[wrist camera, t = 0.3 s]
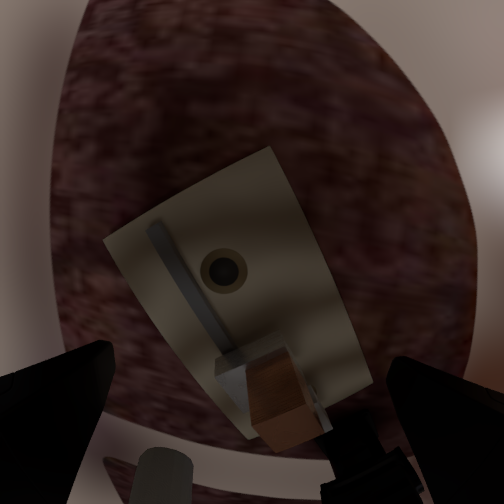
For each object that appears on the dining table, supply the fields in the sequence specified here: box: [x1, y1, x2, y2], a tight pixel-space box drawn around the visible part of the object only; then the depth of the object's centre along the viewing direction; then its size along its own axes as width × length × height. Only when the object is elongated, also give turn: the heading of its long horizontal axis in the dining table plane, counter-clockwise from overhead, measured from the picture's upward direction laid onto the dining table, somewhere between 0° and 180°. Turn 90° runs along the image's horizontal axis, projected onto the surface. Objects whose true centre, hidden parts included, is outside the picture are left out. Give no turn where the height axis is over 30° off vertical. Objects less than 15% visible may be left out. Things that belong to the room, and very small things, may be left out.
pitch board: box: [103, 146, 373, 440], centre depth 20 cm, size 22×13×5 cm, turn 27°
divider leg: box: [214, 329, 325, 453], centre depth 17 cm, size 4×5×8 cm
